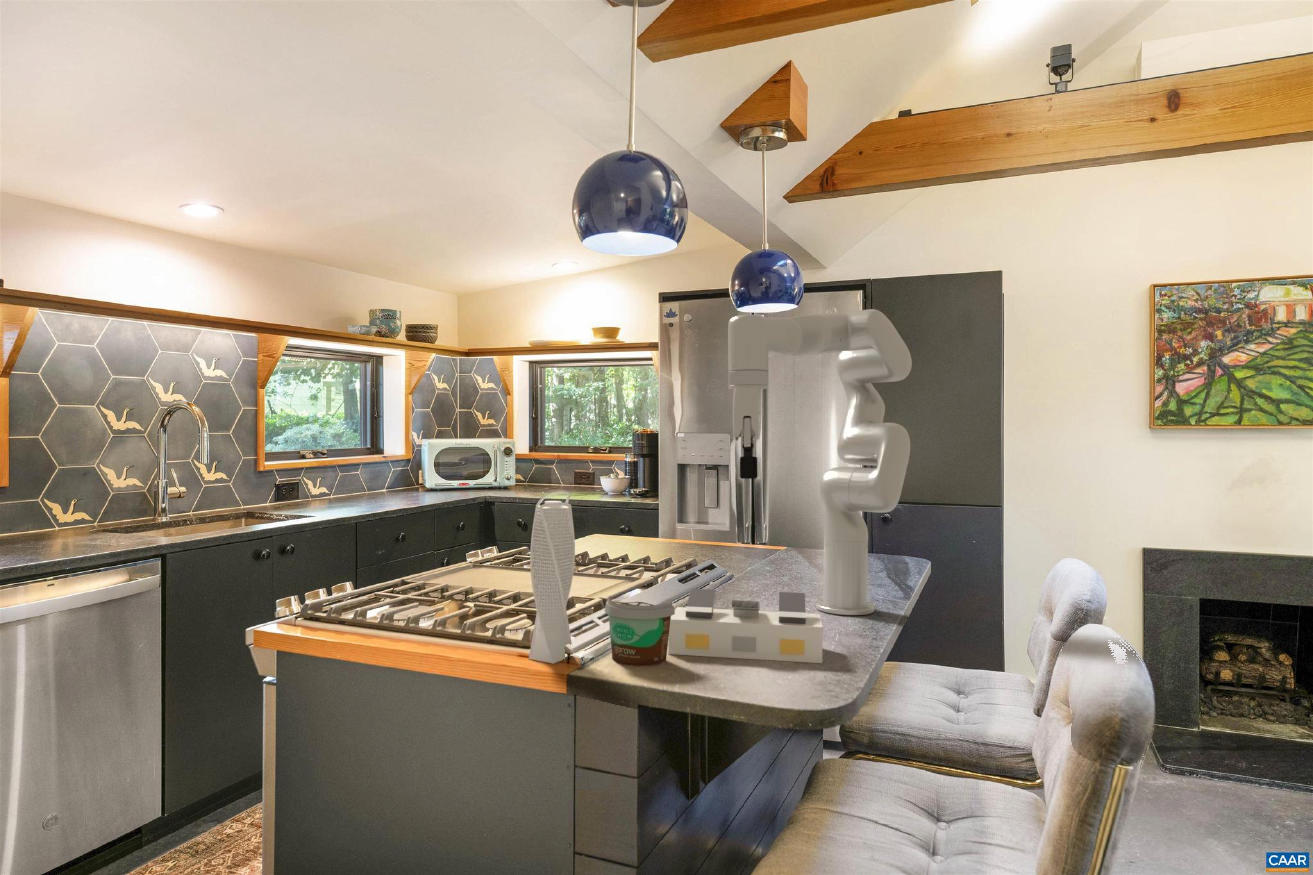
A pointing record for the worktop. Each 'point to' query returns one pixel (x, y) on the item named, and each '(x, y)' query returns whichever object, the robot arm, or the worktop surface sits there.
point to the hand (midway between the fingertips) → (748, 478)
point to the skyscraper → (551, 577)
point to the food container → (639, 632)
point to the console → (746, 636)
